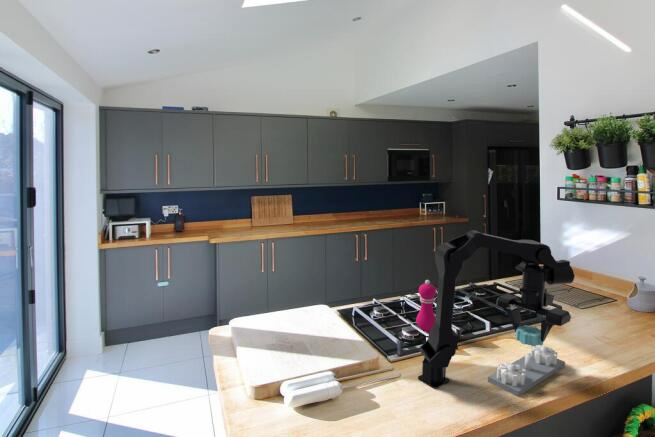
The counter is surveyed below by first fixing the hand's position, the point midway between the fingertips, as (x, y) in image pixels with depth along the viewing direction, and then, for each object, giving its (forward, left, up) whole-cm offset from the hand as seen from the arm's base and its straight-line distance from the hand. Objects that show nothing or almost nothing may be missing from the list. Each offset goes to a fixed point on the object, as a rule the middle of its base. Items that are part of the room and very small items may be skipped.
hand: (529, 336), depth 116 cm
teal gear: (0, 0, -1) cm, 1 cm away
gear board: (0, 0, -12) cm, 12 cm away
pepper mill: (-3, +36, -12) cm, 38 cm away
